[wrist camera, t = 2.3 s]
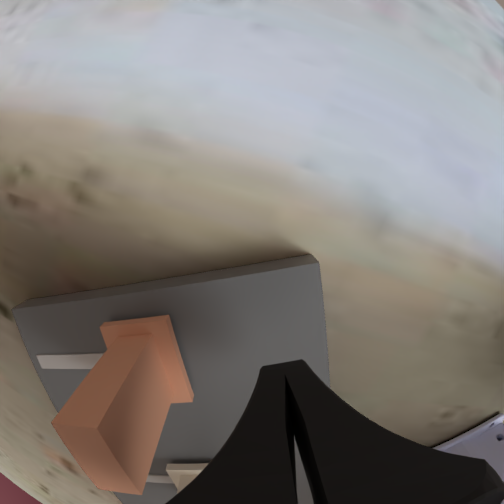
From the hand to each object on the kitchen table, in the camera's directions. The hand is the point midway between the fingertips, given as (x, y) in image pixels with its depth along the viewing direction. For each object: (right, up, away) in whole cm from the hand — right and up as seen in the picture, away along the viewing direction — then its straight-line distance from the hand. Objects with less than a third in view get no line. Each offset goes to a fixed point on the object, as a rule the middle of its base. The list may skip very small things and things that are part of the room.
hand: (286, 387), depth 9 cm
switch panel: (-4, -9, +7) cm, 12 cm away
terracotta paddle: (-5, 0, +3) cm, 6 cm away
